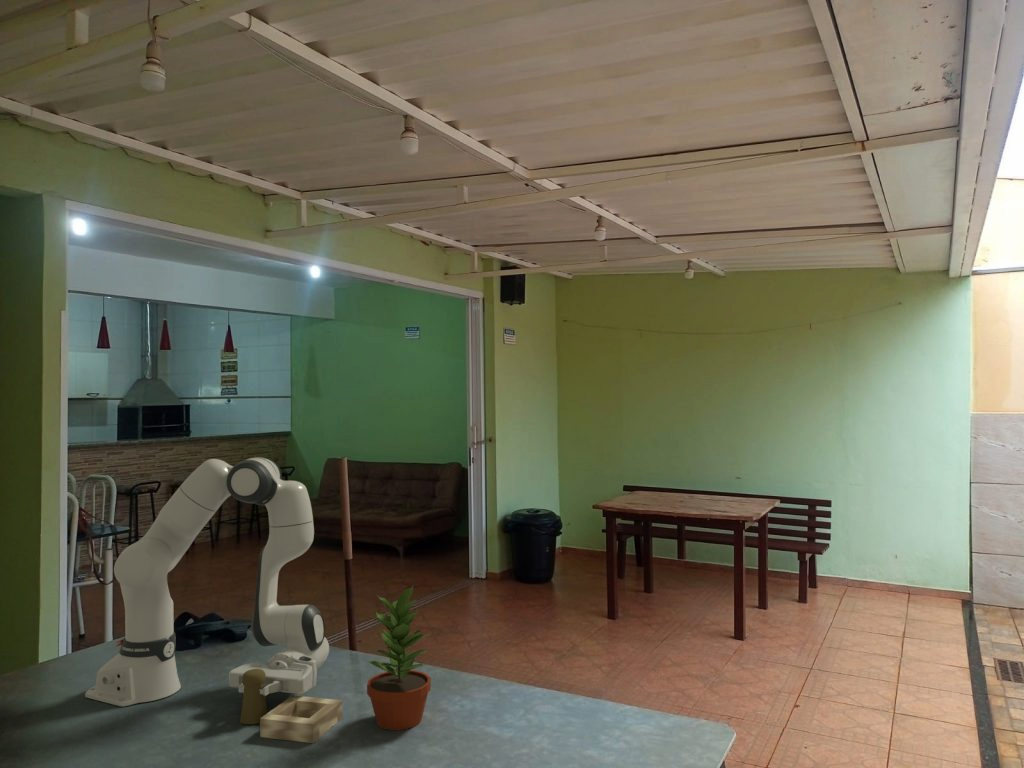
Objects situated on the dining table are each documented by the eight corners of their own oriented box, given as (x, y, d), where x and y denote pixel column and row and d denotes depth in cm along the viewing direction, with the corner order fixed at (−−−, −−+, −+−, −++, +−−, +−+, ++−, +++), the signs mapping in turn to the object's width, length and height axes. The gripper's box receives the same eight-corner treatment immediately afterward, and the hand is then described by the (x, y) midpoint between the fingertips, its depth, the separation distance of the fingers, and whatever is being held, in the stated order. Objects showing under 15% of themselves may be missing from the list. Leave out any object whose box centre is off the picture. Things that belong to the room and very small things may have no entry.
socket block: (260, 736, 161) (260, 718, 161) (292, 712, 174) (292, 695, 174) (313, 743, 158) (313, 724, 158) (342, 717, 170) (342, 700, 170)
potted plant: (352, 730, 164) (351, 594, 165) (388, 703, 178) (387, 578, 179) (411, 740, 158) (410, 600, 159) (443, 712, 173) (442, 583, 173)
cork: (259, 725, 167) (258, 676, 167) (234, 723, 168) (234, 674, 168) (272, 714, 173) (272, 666, 173) (249, 712, 174) (249, 665, 174)
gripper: (248, 653, 186) (212, 673, 172) (321, 660, 180) (290, 681, 167) (248, 678, 185) (212, 700, 172) (321, 686, 180) (290, 709, 167)
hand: (251, 691), depth 169 cm, fingers closed on cork, 4 cm apart
